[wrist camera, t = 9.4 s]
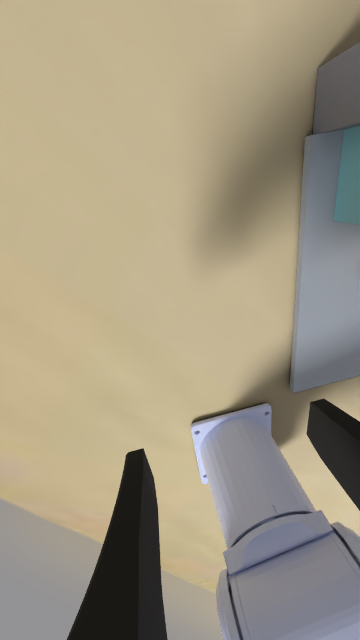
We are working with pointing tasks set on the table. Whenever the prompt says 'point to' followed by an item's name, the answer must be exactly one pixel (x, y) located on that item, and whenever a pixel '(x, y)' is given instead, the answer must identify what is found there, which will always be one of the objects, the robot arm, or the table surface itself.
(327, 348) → the board
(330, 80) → the backstop wall
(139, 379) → the table surface
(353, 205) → the teal arch
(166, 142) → the table surface
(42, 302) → the table surface
